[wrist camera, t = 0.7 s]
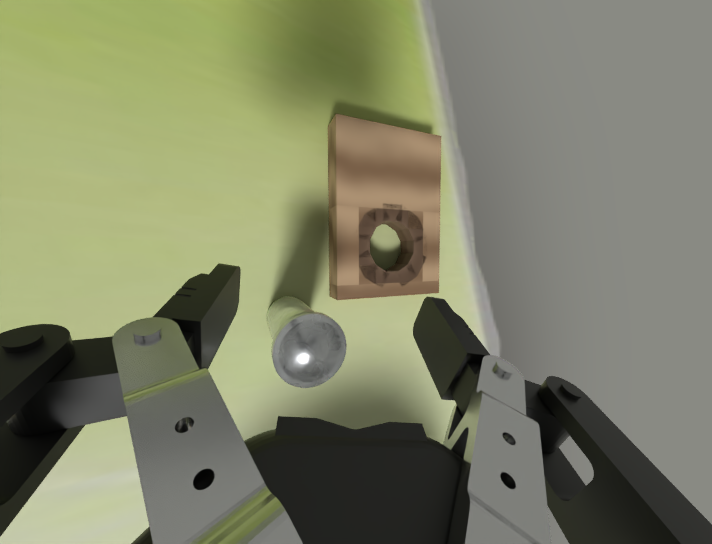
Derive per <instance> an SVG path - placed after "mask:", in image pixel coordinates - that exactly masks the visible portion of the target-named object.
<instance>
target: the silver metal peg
mask: <svg viewBox="0 0 712 544" xmlns="http://www.w3.org/2000/svg"><path fill="white" fill-rule="evenodd" d="M267 323H268V326H269V329H270V333H271V336H272V339H273V342H272V349H271V353H272V359H273V363H274V367H275V369H276V371H277V373H278V375H279V376H280V377H281V378H282V379H283V380H284V381H285V382H287V383H288V384H290V385H293V386H296V387H301V388H309V387H314V386H318V385H320V384H322V383H324V382H326V381H327V380H329V379H330V378H331V377H332V376H334V374H335V373H336V372H337V371H338V370H339V368H340V367H341V365H342V363H343V361H344V358H345V354H346V339H345V335H344V332H343V331H342V329H341V327H340V326H339V325H338V324H337V323H336V322H335V321H334V320H333V319H331V318H330V317H329V316H327V315H325V314H323V313H319V312H314V311H313V310H312V309H311V308H310V307H308V306H307V305H306V304H305V303H303V302H302V301H301V300H300V299H298V298H296V297H291V296H286V297H282V298H279V299H277V300H276V301H275V302H274V303H272V305H271V306H270V308H269V310H268V312H267Z"/></svg>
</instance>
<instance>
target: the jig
mask: <svg viewBox="0 0 712 544" xmlns="http://www.w3.org/2000/svg"><path fill="white" fill-rule="evenodd" d="M440 179H441V136H438V135H433V134H429V133H424V132H419V131H415V130H410V129H405V128H401V127H396V126H391V125H387V124H382V123H377V122H373V121H368V120H363V119H358V118H354V117H349V116H344V115H340V114H335V116H334V118H333V119H332V121H331V122H330V124H329V126H328V184H329V283H330V297H332V298H334V299H336V300H345V299H359V298H373V297H387V296H401V295H415V294H430V293H439V245H440ZM381 224H387V225H388V226H389V227H391V228H392V229H394V230H395V231H396V233H397V235H398V237H399V239H400V241H401V254H400V256H399V258H398V260H397V262H396V264H394V265H393V266H391V267H390V268H389V269H387V270H383V269H382V268H380V267H378V266H377V265H376V264H375V262H374V260H373V258H372V256H371V254H370V238H371V236H372V234H373V232H374V231H375V229H376V227H377V226H379V225H381Z"/></svg>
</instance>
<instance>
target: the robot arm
mask: <svg viewBox="0 0 712 544" xmlns="http://www.w3.org/2000/svg"><path fill="white" fill-rule="evenodd" d="M239 289H240V267H239V266H232V265H226V264H218V265H217V266H216V267H215V268H214V269H213V271H212V272H211V273H210V274H209V275H208V274H202V273H201V274H199V275H197V276H195V277H193V278H191V279H189V280H188V281H187V282H186V283H185V284H184V285H183V286H182V288H181V289H179V290H178V291H177V292H176V293H175V295H173V296H172V298H171V299H170V300H169V301H168V302H167V303H166V304H165V305H164V306H163V307H162V308H161V309H160V310H159V311H158V312H157V313H156V314H155V315H154V316H153V317H152V318H145V319H140V320H136V321H133V322H131V323H129V324H126V325H125V326H123V327H121V328H120V329H119V330H118V331H117V332H116V333H115V334H114V336H113V337H105V338H94V339H83V340H72V339H71V336H70V332H69V331H68V330H67V329H66V328H64V327H62V326H59V325H52V324H39V325H30V326H25V327H20V328H16V329H12V330H9V331H6V332H3V333H1V334H0V536H1V535H2V534H3V532H4V531H5V530H6V528H7V527H8V526H9V524H10V523H11V522H12V521H13V519H14V518H15V517H16V515H17V514H18V513H19V511H20V510H21V509H22V507H23V506H24V505H25V503H26V502H27V501H28V499H29V498H30V497H31V496H32V494H33V493H34V492H35V490H36V489H37V488H38V486H39V485H40V484H41V482H42V481H43V480H44V478H45V477H46V476H47V474H48V473H49V472H50V471H51V469H52V468H53V467H54V465H55V464H56V463H57V461H58V460H59V459H60V457H61V456H62V455H63V453H64V452H65V451H66V449H67V448H68V447H69V446H70V444H71V443H72V442H73V440H74V439H75V438H76V436H77V435H78V434H79V432H80V431H81V430H82V428H83V427H84V426H85V425H86V424H91V423H96V422H100V421H105V420H110V419H115V418H120V417H124V416H127V418H128V423H129V428H130V433H131V438H132V442H133V447H134V452H135V457H136V462H137V467H138V472H139V477H140V482H141V487H142V492H143V497H144V502H145V507H146V511H147V516H148V521H149V527H148V528H147V529H146V530H145V531H144V532H143V533H142V534H141V535H140V536H139V537H138V538H137V539H136V540H135V541H134V542H133V543H132V544H551V536H550V526H549V517H548V507H549V508H550V510H551V512H552V514H553V516H554V517H555V519H556V521H557V523H558V525H559V526H560V528H561V530H562V532H563V533H564V535H565V537H566V539H567V540H568V542H569V543H570V544H712V525H711V523H710V522H709V521H708V520H707V519H706V518H705V517H704V516H703V515H702V514H701V513H700V512H699V511H698V510H697V509H696V508H695V507H694V506H693V505H692V504H691V503H690V502H689V501H688V500H687V499H686V498H685V497H684V495H682V493H681V492H680V491H679V490H678V489H677V488H676V487H675V486H674V485H673V484H672V483H671V482H670V481H669V480H668V479H667V478H666V477H665V476H664V475H663V474H662V473H661V472H660V471H659V470H658V469H657V468H656V467H655V466H654V465H653V463H652V462H651V461H649V459H648V458H647V457H646V456H645V455H644V454H643V453H642V452H641V451H640V450H639V449H638V448H637V447H636V446H635V445H634V444H633V443H632V442H631V441H630V440H629V439H628V438H627V437H626V436H625V435H624V434H623V432H621V430H619V429H618V427H617V426H616V425H615V424H614V423H613V422H612V421H611V420H610V419H609V418H608V417H607V416H606V415H605V414H604V413H603V412H602V411H601V410H600V409H599V408H598V407H597V406H596V405H595V404H594V403H593V402H592V400H590V398H589V397H588V396H587V395H586V394H585V393H584V392H582V391H581V390H580V389H579V388H577V387H576V386H574V385H573V384H571V383H570V382H568V381H565V380H564V379H561V378H559V377H555V376H549V377H547V379H546V380H545V381H544V383H543V384H542V385H538V384H535V383H532V382H529V381H526V380H524V378H523V375H522V374H521V373H520V371H519V370H518V369H517V368H516V367H515V366H513V365H512V364H511V363H509V362H508V361H506V360H504V359H502V358H500V357H497V356H493V355H490V354H489V353H488V351H487V350H486V349H485V347H484V346H483V345H482V343H481V342H480V341H479V340H478V338H477V337H476V336H475V335H474V333H473V332H472V330H471V329H470V328H469V326H468V325H467V324H466V323H465V321H464V320H463V319H462V318H461V317H460V316H459V315H457V314H456V313H455V312H454V311H453V310H452V309H451V308H450V306H449V305H448V303H447V302H446V301H445V300H444V299H440V298H434V297H426V298H425V299H424V301H423V304H422V306H421V309H420V311H419V313H418V316H417V318H416V321H415V323H414V327H413V336H414V339H415V341H416V343H417V345H418V348H419V350H420V352H421V354H422V356H423V359H424V361H425V363H426V365H427V368H428V370H429V372H430V374H431V377H432V379H433V381H434V383H435V385H436V388H437V390H438V392H439V394H440V397H441V399H443V400H455V402H456V405H455V406H454V408H453V410H452V414H451V417H450V421H449V424H448V428H447V431H446V435H445V439H444V442H443V445H442V444H441V443H439V442H437V441H435V440H433V439H430V438H428V437H426V434H425V431H424V428H423V426H422V424H418V423H398V422H388V423H383V424H379V425H375V426H371V427H366V428H362V429H357V430H354V429H350V428H346V427H343V426H340V425H337V424H333V423H330V422H327V421H324V420H320V419H317V418H301V417H281V416H278V421H277V427H276V429H275V430H271V431H267V432H264V433H261V434H258V435H256V436H254V437H252V438H249V439H247V440H246V441H243V439H242V437H241V435H240V433H239V431H238V429H237V427H236V425H235V423H234V421H233V419H232V417H231V415H230V413H229V411H228V409H227V407H226V405H225V403H224V401H223V399H222V397H221V395H220V393H219V391H218V389H217V387H216V385H215V383H214V381H213V379H212V377H211V375H210V373H209V371H208V368H209V366H210V364H211V362H212V360H213V358H214V356H215V354H216V352H217V350H218V348H219V346H220V344H221V342H222V340H223V338H224V336H225V334H226V332H227V331H228V329H229V327H230V325H231V323H232V321H233V319H234V317H235V315H236V312H237V308H238V303H239ZM569 436H571V437H572V439H573V440H574V441H575V443H576V444H577V445H578V446H579V448H580V449H581V450H582V452H583V453H584V454H585V455H586V457H587V458H588V459H589V461H590V462H591V464H592V467H593V470H594V478H593V480H592V481H591V482H590V483H589V484H588V485H587V486H586V485H585V484H584V483H583V481H582V480H581V478H580V477H579V476H578V474H577V473H576V471H575V470H574V468H573V467H572V466H571V464H570V463H569V461H568V460H567V459H566V457H565V456H564V454H563V453H562V452H561V450H560V449H559V446H560V445H561V444H562V443H563V442H564V441H565V440H566V439H567V438H568V437H569ZM547 505H548V507H547Z"/></svg>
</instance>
